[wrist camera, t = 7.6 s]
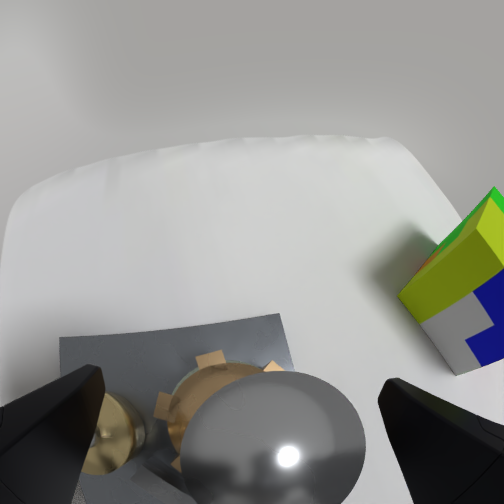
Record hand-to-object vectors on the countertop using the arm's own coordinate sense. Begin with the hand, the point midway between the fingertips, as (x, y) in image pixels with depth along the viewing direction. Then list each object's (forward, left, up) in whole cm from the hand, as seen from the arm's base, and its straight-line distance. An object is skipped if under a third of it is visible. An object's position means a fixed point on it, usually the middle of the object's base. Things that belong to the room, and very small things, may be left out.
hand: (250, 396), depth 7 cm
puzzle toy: (+2, -22, -10) cm, 24 cm away
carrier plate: (-1, +3, -10) cm, 10 cm away
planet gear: (-1, 0, -8) cm, 8 cm away
